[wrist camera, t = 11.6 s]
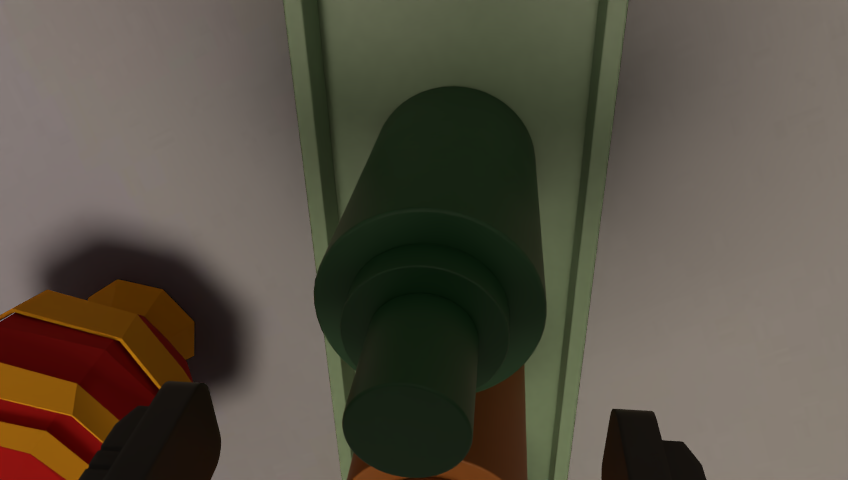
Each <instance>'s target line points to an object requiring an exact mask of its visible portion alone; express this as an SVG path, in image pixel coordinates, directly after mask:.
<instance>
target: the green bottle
mask: <svg viewBox="0 0 848 480" xmlns="http://www.w3.org/2000/svg"><path fill="white" fill-rule="evenodd" d="M314 304H315V309H316V314H317V318H318V321H319V324H320V327H321V329H322V331H323V333H324V335H325V337H326V339H327V341H328V342H329V343H330V345H331V346H332V348H333V349H334V351H335V352H336V353H337V354H338V355H339V356H340V357H341V358H342V359H343V361H345V362H346V363H347V364H348V365H349V366H350V367H351V368H353V369H354V370H355V371H356V372H355V376H354V379H353V383H352V386H351V389H350V393H349V396H348V399H347V403H346V406H345V410H344V413H343V418H342V429H343V433H344V437H345V439H346V442H347V443H348V445H349V447H350V448H351V449H352V451H353V452H354V453H355V454H356V455H357V456H358V457H359V458H360V459H361V460H362V461H364V462H365V463H367V464H368V465H370V466H371V467H373V468H375V469H377V470H379V471H382V472H384V473H387V474H390V475H394V476H399V477H406V478H425V477H432V476H436V475H439V474H442V473H445V472H447V471H449V470H451V469H453V468H454V467H455V466H457V465H458V464H459V463H460V462H461V461H462V460H463V459H464V458H465V457H466V455H467V454H468V452H469V450H470V448H471V445H472V440H473V428H474V412H475V397H476V393H477V392H480V391H483V390H486V389H488V388H490V387H493V386H495V385H497V384H499V383H500V382H502V381H504V380H506V379H507V378H509V377H510V376H511V375H513V374H514V373H515V372H517V371H518V370H519V369H520V368H521V367H522V366H523V365H524V364H525V363H526V362H527V360H528V359H529V358H530V356H531V355H532V354H533V352H534V351H535V349H536V347H537V345H538V343H539V342H540V340H541V337H542V334H543V331H544V328H545V322H546V317H547V300H546V287H545V275H544V262H543V249H542V237H541V224H540V211H539V198H538V186H537V173H536V160H535V152H534V146H533V143H532V140H531V137H530V135H529V132H528V130H527V128H526V127H525V125H524V123H523V122H522V120H521V119H520V118H519V117H518V115H517V114H516V113H515V112H514V111H513V110H512V109H511V108H510V107H509V106H507V105H506V104H505V103H503V102H502V101H500V100H499V99H498V98H496V97H494V96H492V95H490V94H488V93H485V92H482V91H480V90H477V89H472V88H467V87H457V86H449V87H439V88H434V89H430V90H427V91H424V92H421V93H419V94H417V95H415V96H413V97H411V98H409V99H408V100H406V101H405V102H403V103H402V104H401V105H400V106H399V107H398V108H396V109H395V110H394V112H393V113H392V114H391V115H390V116H389V117H388V119H387V121H386V122H385V124H384V125H383V127H382V129H381V132H380V134H379V136H378V138H377V140H376V142H375V145H374V147H373V149H372V151H371V153H370V156H369V158H368V160H367V162H366V165H365V167H364V169H363V171H362V173H361V176H360V178H359V180H358V182H357V184H356V187H355V189H354V191H353V193H352V195H351V198H350V200H349V202H348V204H347V206H346V209H345V211H344V213H343V215H342V217H341V220H340V222H339V224H338V226H337V228H336V231H335V233H334V235H333V237H332V239H331V242H330V244H329V246H328V248H327V250H326V253H325V255H324V257H323V259H322V261H321V264H320V266H319V268H318V272H317V275H316V279H315V286H314Z"/></svg>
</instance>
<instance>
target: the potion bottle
mask: <svg viewBox="0 0 848 480" xmlns="http://www.w3.org/2000/svg"><path fill="white" fill-rule="evenodd" d="M14 312H15V313H14ZM12 313H14V314H13V315H11V314H12ZM9 315H11V316H9ZM7 316H9V317H8V318H6V319H4V318H5V317H7ZM2 319H4V320H3V321H1V322H0V480H78V479H79V478H80V476H81V475H82V473H83V472H84V470H85V469H88V467H89V463H90V461H91V460H92V458H93V457H94V455H95V454H96V452H97V451H98V450H99V451H100V449H101V445H102V443H103V442H104V440H105V439H106V437H107V436H108V434H109V433H110V431H111V430H112V428H113V427H114V425H115V424H116V423H117V422H119V421H120V420H121V419H122V418H123V417H125V416H126V415H127V414H128V413H130V412H131V411H132V410H133V409H134V408H136V407H137V406H149V405H150V404H151V402H152V400H153V399H154V397H155V396H156V394H157V393H158V391H159V389H160V388H161V386H162V385H163V384H164V383H165V382H167V381H178V382H193V380H192V377H191V374H190V370H189V367H188V364H187V361H186V360H187V359H189V358H191V357H193V356H194V325H195V322H194V321H193V320H192V319H191V318H190V317H189V316H188V315H187V314H186V313H185V312H184V311H183V310H182V309H181V307H180V306H179V305H178V304H177V303H176V302H175V301H174V300H173V299H172V298H171V297H170V296H169V295H168V294H167V293H166V292H165V291H164V290H163V289H159V288H154V287H150V286H146V285H141V284H137V283H132V282H128V281H123V280H119V279H117V280H115V281H114V282H112V283H111V284H109V285H108V286H106V287H104V288H103V289H101V290H100V291H98V292H96V293H95V294H93V295H92V296H90V297H88V301H87V300H84V299H80V298H76V297H73V296H69V295H65V294H62V293H58V292H54V291H51V290H45V291H44V292H42V293H40V294H38V295H36V296H34V297H33V298H31V299H29V300H27V301H25V302H23V303H22V304H20V305H18V306H16V307H14V308H12V309H11V310H9V311H7V312H5V313H3V314H1V315H0V320H2Z"/></svg>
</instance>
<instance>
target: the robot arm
mask: <svg viewBox="0 0 848 480" xmlns="http://www.w3.org/2000/svg"><path fill="white" fill-rule="evenodd" d="M220 450H221V437H220V432H219V428H218V424H217V420H216V416H215V412H214V408H213V404H212V400H211V396H210V392H209V389H208V386H207V385H206V384H205V383H195V382H178V381H167V382H165V383H164V384H163V385H162V386H161V388H160V389H159V391H158V393H157V394H156V396H155V397H154V399H153V400H152V402H151V404H150V405H149V406H137V407H136V408H134V409H133V410H132V411H131V412H130V413H128V414H127V415H126V416H125V417H123V418H122V419H121V420H120V421H119V422H117V423H116V424H115V425H114V427H113V428H112V430H111V431H110V433H109V434H108V436H107V437H106V439H105V440H104V442H103V443H102V445H101V449H100V451H99V450H98V451H97V452H96V454H95V455H94V457H93V458H92V460H91V461H90V463H89V467H88V469H85V470H84V472H83V473H82V475H81V476H80V478H79V479H78V480H211V478H212V475H213V473H214V471H215V469H216V466H217V464H218V460H219V456H220ZM602 480H706V477H705V474H704V471H703V467H702V465H701V463H700V462H699V461H698V460H697V458H696V457H695V456H694V455H693V453H692V452H691V451H690V450H689V448H688V447H687V446H686V445H685V444H684V442H680V441H664V440H662V438H661V435H660V431H659V427H658V423H657V419H656V416H655V414H654V412H653V411H641V410H625V409H612V411H611V415H610V420H609V426H608V432H607V438H606V444H605V450H604V456H603V462H602Z"/></svg>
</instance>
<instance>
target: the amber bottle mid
mask: <svg viewBox="0 0 848 480" xmlns="http://www.w3.org/2000/svg"><path fill="white" fill-rule="evenodd" d="M347 480H528V479H527V441H526V403H525V365H523V366H522V367H521V368H520V369H519V370H518V371H517V372H515V373H514V374H513V375H511V376H510V377H509V378H507V379H506V380H504V381H502V382H500V383H499V384H497V385H495V386H493V387H490V388H488V389H486V390H483V391H480V392H477V393H476V397H475V412H474V428H473V440H472V445H471V448H470V450H469V452H468V454H467V455H466V457H465V458H464V459H463V460H462V461H461V462H460V463H459V464H458V465H457V466H455V467H454V468H453V469H451V470H449V471H447V472H445V473H442V474H439V475H436V476H432V477H425V478H406V477H399V476H394V475H390V474H387V473H384V472H382V471H379V470H377V469H375V468H373V467H371V466H370V465H368V464H367V463H365V462H364V461H362V460H361V459H360V458H359V457H358V456H357V455H356V454H355V453H354V454H353V457H352V461H351V465H350V469H349V473H348V477H347Z"/></svg>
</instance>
